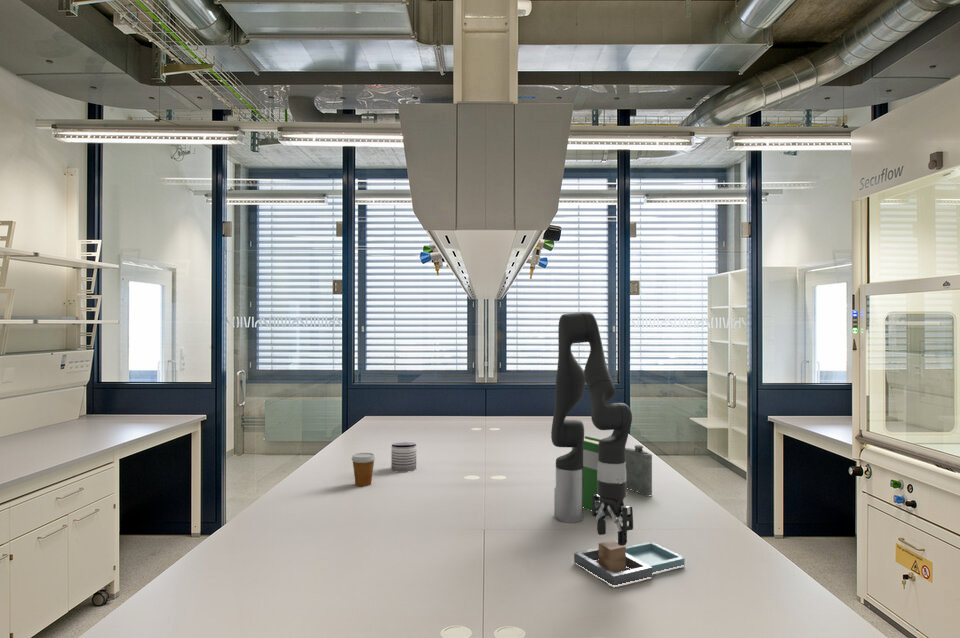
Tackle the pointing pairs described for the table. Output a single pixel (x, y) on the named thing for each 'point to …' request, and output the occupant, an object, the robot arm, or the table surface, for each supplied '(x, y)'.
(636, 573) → the holder
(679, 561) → the tray
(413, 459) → the can
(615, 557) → the walnut block
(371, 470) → the disposable coffee cup
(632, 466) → the flask
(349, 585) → the table surface
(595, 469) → the hardback book
